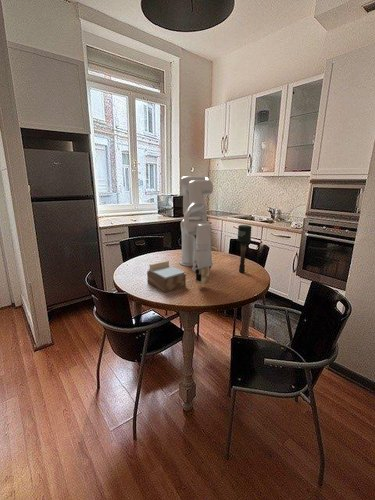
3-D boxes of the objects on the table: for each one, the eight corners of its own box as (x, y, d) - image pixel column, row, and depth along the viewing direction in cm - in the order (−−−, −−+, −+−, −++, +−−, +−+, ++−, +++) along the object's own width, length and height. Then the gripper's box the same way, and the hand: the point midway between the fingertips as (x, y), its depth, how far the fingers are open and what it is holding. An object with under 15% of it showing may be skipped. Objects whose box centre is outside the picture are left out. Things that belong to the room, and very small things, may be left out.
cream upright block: (202, 280, 140) (203, 263, 138) (208, 282, 137) (209, 265, 134) (195, 282, 137) (196, 265, 135) (202, 285, 134) (202, 267, 131)
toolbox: (167, 277, 152) (167, 266, 150) (185, 286, 139) (185, 274, 138) (147, 282, 143) (147, 271, 141) (164, 292, 131) (164, 280, 129)
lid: (166, 266, 149) (166, 259, 148) (184, 273, 137) (184, 266, 136) (148, 270, 141) (148, 263, 140) (165, 279, 129) (165, 272, 128)
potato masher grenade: (233, 270, 165) (236, 224, 157) (246, 269, 166) (249, 224, 158) (236, 274, 157) (240, 227, 149) (250, 274, 158) (254, 227, 150)
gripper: (209, 243, 140) (208, 274, 145) (186, 248, 129) (185, 281, 134) (219, 245, 134) (218, 277, 139) (196, 251, 124) (195, 285, 128)
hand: (202, 279), depth 137 cm, fingers closed on cream upright block, 5 cm apart
